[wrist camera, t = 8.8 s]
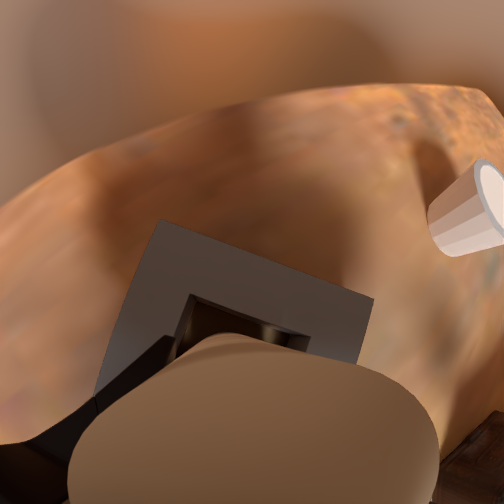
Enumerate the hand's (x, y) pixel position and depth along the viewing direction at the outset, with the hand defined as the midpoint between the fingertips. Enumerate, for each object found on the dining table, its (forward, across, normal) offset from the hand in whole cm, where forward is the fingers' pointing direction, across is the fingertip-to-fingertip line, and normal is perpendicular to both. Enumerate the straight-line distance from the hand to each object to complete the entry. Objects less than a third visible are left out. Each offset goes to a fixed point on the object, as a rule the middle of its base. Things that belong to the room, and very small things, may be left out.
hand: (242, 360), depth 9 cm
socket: (+5, 0, +7) cm, 8 cm away
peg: (+4, 0, +6) cm, 7 cm away
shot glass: (+15, -17, -3) cm, 23 cm away
